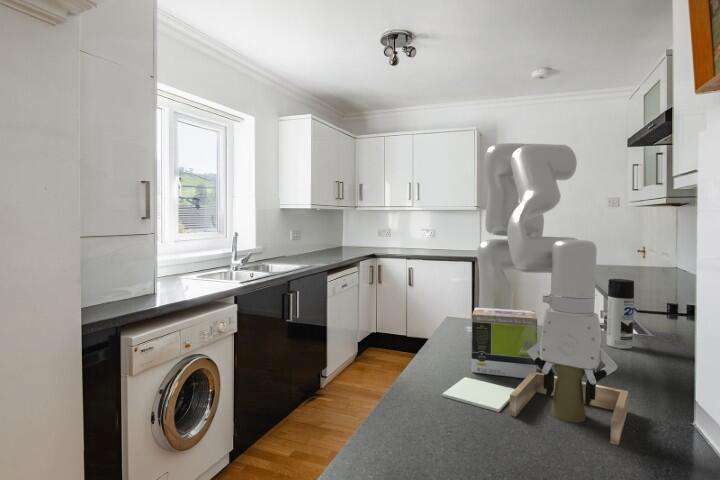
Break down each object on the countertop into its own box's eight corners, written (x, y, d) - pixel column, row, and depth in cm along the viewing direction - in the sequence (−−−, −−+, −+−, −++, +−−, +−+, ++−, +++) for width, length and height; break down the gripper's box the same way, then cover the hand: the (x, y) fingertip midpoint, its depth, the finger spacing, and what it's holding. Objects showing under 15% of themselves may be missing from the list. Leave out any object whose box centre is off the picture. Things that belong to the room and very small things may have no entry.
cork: (590, 424, 79) (592, 365, 78) (555, 420, 80) (557, 362, 79) (580, 409, 85) (582, 355, 84) (547, 406, 86) (549, 352, 85)
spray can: (622, 350, 124) (625, 282, 123) (600, 344, 130) (603, 278, 129) (637, 348, 126) (640, 280, 125) (615, 342, 132) (618, 277, 131)
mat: (442, 396, 90) (442, 393, 90) (464, 379, 100) (464, 377, 100) (498, 412, 83) (499, 409, 83) (517, 392, 93) (517, 389, 93)
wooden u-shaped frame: (509, 415, 82) (509, 394, 82) (531, 388, 95) (532, 371, 95) (618, 445, 71) (619, 421, 71) (627, 411, 84) (628, 391, 84)
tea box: (534, 367, 109) (536, 310, 108) (536, 381, 99) (538, 318, 99) (473, 360, 114) (474, 305, 113) (470, 373, 104) (471, 313, 104)
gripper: (519, 302, 83) (516, 392, 84) (623, 314, 73) (618, 417, 74) (530, 296, 89) (527, 381, 90) (627, 307, 79) (623, 402, 80)
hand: (568, 396), depth 82 cm, fingers open, 6 cm apart
